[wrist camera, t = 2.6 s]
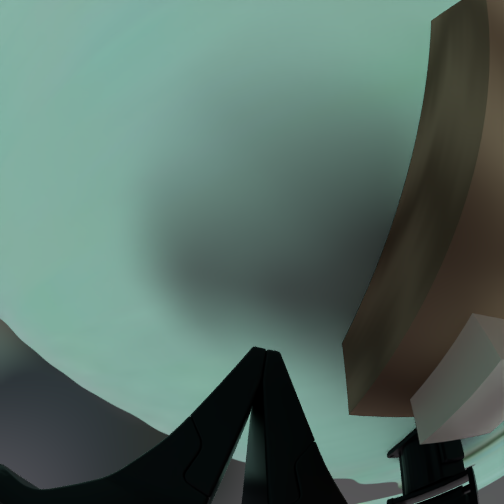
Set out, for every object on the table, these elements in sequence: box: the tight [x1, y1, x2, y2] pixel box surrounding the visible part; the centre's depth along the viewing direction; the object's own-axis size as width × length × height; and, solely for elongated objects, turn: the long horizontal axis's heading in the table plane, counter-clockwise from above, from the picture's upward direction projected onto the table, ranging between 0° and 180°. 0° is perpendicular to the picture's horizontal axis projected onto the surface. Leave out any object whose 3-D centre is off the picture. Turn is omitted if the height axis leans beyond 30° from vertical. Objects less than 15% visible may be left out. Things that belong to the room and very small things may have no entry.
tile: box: [410, 313, 504, 444], centre depth 7 cm, size 5×5×2 cm
